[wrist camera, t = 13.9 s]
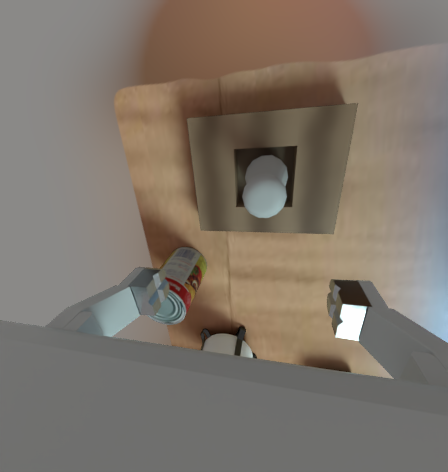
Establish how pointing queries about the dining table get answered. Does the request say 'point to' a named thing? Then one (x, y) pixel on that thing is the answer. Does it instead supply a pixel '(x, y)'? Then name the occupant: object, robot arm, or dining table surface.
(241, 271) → the dining table surface
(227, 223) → the walnut holder
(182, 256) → the canned food
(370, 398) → the robot arm
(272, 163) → the salt shaker
